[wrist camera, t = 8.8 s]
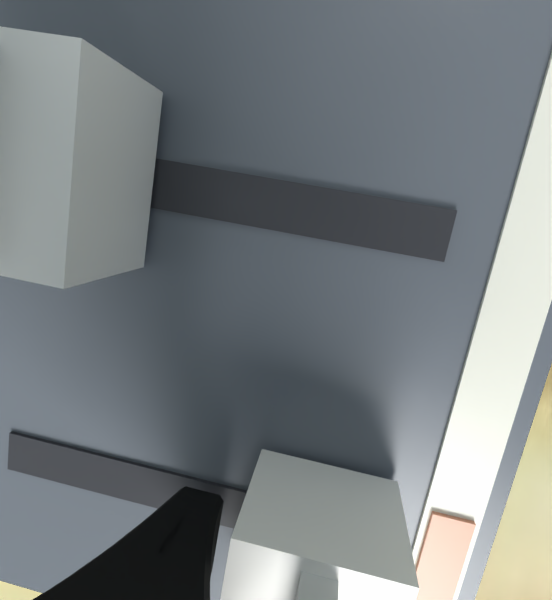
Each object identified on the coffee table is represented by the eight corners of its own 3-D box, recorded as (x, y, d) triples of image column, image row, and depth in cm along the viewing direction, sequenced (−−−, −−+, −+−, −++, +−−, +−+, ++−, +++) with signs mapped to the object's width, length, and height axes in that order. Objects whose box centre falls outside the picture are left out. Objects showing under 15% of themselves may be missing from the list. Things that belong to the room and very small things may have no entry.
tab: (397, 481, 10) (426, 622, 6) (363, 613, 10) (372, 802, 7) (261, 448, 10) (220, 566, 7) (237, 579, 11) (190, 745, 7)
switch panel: (722, -356, 8) (862, -565, 6) (424, 633, 13) (440, 719, 11) (-75, -384, 10) (-193, -553, 8) (-77, 495, 14) (-151, 544, 12)
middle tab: (163, 92, 9) (53, 19, 5) (143, 267, 10) (37, 295, 6) (22, 70, 9) (-161, -11, 6) (15, 241, 10) (-152, 255, 7)
